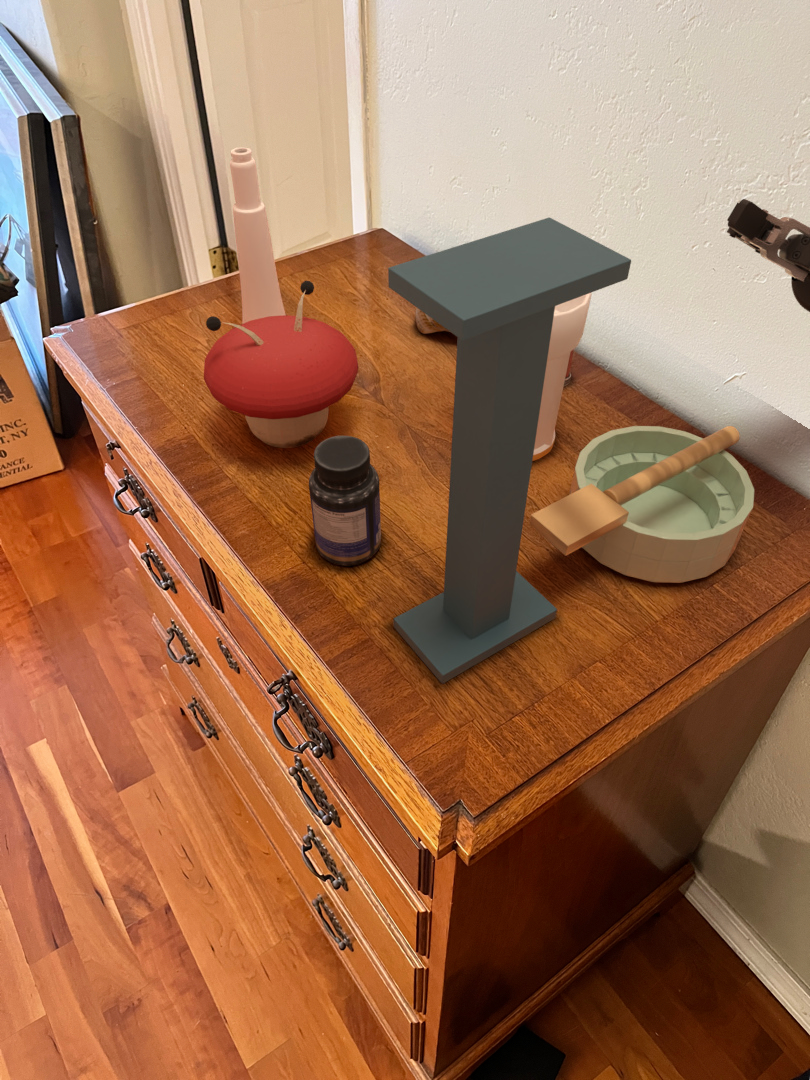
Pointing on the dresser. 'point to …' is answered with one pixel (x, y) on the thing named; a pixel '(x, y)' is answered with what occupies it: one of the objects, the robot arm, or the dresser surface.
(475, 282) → the headphone stand
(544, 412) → the cup
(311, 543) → the dresser surface
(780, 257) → the robot arm
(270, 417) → the mushroom
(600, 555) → the bowl
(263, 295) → the cosmetic bottle
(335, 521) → the pill bottle
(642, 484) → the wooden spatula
